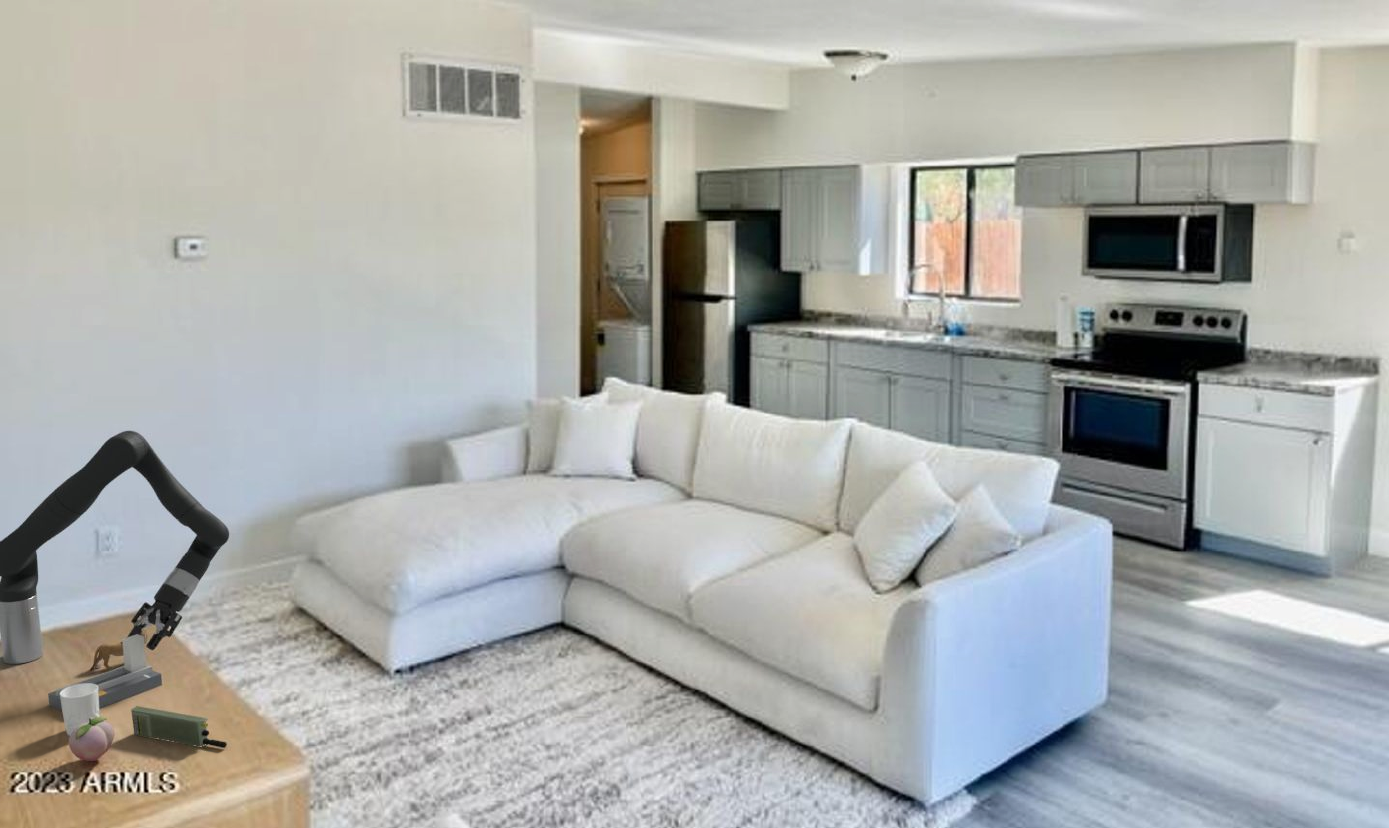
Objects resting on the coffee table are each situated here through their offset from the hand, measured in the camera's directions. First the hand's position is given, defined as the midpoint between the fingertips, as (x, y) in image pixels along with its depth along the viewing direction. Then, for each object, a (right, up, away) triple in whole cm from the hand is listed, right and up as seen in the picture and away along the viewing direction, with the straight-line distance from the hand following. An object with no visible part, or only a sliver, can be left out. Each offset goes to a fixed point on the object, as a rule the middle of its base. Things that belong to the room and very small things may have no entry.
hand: (139, 645), depth 289 cm
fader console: (-5, -11, -6) cm, 14 cm away
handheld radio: (+24, -16, -30) cm, 41 cm away
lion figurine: (-11, -8, +12) cm, 18 cm away
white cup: (-1, -15, -25) cm, 29 cm away
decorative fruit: (+9, -18, -39) cm, 44 cm away
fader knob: (-1, -7, 0) cm, 7 cm away
